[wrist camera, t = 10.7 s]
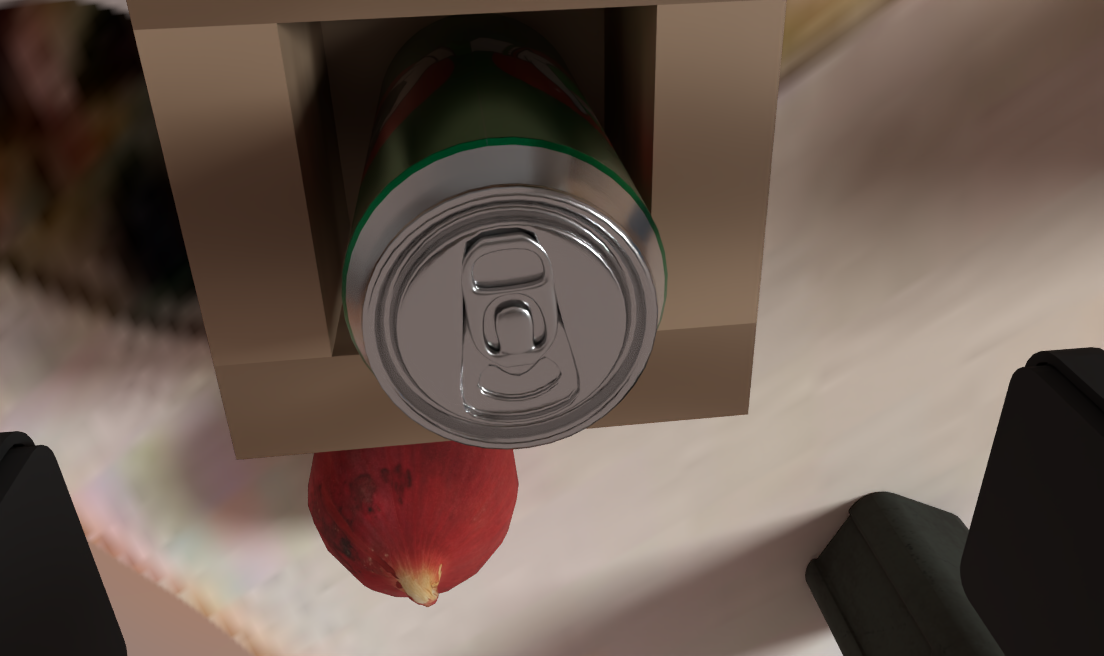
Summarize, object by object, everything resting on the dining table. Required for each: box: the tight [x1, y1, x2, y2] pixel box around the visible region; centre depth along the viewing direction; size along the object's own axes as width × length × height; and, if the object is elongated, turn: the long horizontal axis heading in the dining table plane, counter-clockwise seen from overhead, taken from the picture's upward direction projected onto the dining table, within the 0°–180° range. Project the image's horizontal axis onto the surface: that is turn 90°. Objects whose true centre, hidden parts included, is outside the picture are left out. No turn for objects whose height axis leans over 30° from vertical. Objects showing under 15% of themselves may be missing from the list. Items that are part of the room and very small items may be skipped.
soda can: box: [341, 13, 668, 450], centre depth 18 cm, size 5×5×12 cm
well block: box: [126, 0, 787, 460], centre depth 21 cm, size 12×12×7 cm
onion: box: [308, 441, 519, 607], centre depth 26 cm, size 6×6×8 cm
